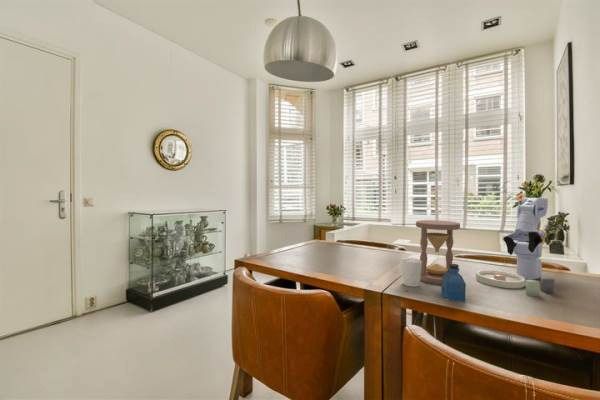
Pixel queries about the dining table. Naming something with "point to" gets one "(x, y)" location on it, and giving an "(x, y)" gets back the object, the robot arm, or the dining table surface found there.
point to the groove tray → (500, 278)
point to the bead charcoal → (547, 285)
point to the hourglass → (437, 240)
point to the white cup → (411, 272)
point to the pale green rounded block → (532, 287)
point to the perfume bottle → (453, 284)
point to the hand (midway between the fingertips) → (519, 252)
